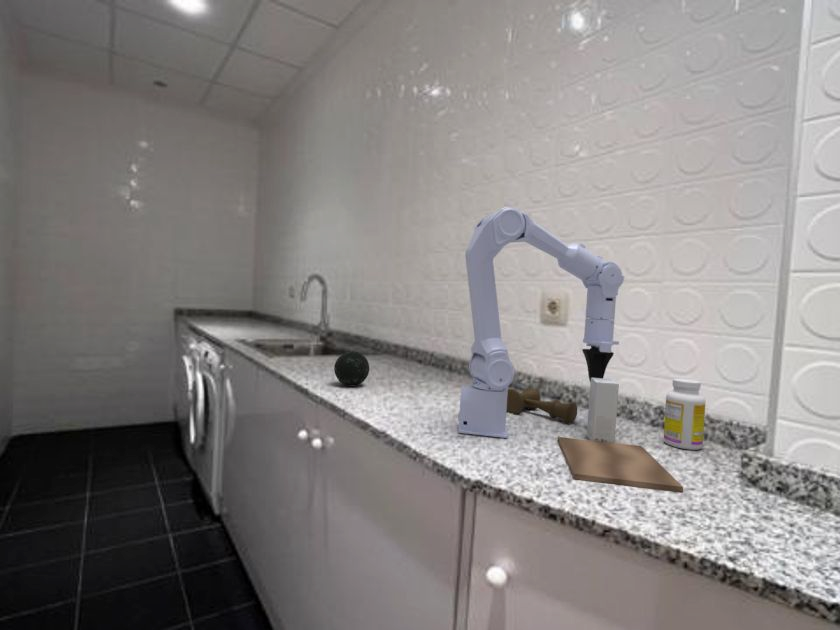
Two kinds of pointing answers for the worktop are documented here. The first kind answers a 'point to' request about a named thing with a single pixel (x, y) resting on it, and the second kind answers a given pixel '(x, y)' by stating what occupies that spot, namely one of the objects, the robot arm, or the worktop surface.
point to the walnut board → (615, 464)
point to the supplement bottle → (684, 415)
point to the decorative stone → (351, 368)
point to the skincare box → (602, 410)
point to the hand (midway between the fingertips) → (595, 382)
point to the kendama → (540, 404)
